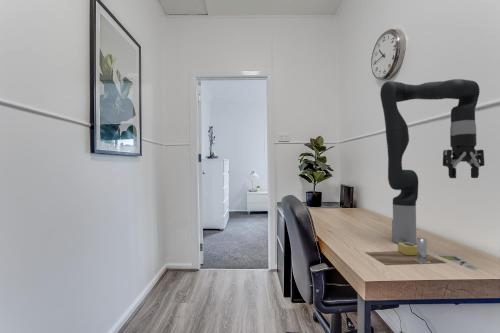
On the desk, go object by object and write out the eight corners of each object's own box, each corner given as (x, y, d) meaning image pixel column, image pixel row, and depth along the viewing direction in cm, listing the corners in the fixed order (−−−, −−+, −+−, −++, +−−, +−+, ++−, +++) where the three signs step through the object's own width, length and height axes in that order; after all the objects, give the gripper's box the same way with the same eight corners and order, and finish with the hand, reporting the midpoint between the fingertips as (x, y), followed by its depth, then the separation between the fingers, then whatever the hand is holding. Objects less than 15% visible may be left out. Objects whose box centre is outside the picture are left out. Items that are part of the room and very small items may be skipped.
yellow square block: (398, 251, 104) (397, 242, 104) (409, 250, 104) (409, 241, 104) (406, 255, 99) (406, 245, 99) (418, 254, 99) (418, 245, 99)
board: (364, 256, 103) (364, 252, 103) (418, 254, 105) (418, 250, 105) (385, 269, 89) (385, 265, 89) (447, 267, 91) (447, 262, 91)
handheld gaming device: (450, 266, 90) (429, 253, 105) (450, 269, 90) (429, 255, 105) (480, 268, 89) (454, 254, 103) (480, 270, 89) (454, 256, 103)
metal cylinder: (415, 263, 94) (415, 238, 94) (422, 263, 95) (422, 238, 95) (421, 266, 92) (420, 240, 92) (428, 266, 92) (428, 240, 92)
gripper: (471, 135, 103) (472, 177, 102) (436, 135, 102) (437, 178, 101) (490, 132, 95) (491, 178, 95) (453, 132, 94) (454, 178, 94)
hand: (463, 178), depth 98 cm, fingers open, 8 cm apart
